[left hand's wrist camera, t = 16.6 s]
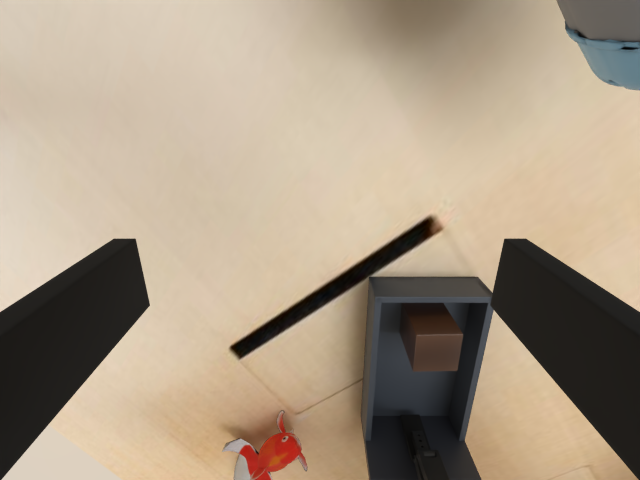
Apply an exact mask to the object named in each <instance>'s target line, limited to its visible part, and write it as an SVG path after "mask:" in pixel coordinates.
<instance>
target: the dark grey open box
mask: <svg viewBox="0 0 640 480" xmlns="http://www.w3.org/2000/svg"><path fill="white" fill-rule="evenodd" d="M492 294H493V293H492V292H491V291H490V290H489V289H488V288H487V286H486V285H485V284H484V283H483V282H482V281H481V280H480V279H479V278H478V277H369V290H368V307H367V323H366V340H365V356H364V372H363V389H362V405H361V421H362V429H363V437H364V444H365V452H366V459H367V467H368V475H369V480H418V476H417V472H416V467H415V463H412V462H411V459H410V455H409V451H408V447H407V443H406V439H405V435H404V432H403V428H402V424H401V420H400V415H420V418H421V421H422V424H423V427H424V430H425V433H426V436H427V439H428V443H429V446H430V449H431V450H438V451H439V454H440V455H441V457H442V458H441V459H442V461H443V464H444V466H445V469H446V471H447V474H448V476H449V478H450V480H481V478H480V475H479V473H478V471H477V468H476V466H475V464H474V462H473V459H472V457H471V455H470V452H469V450H468V448H467V445H466V443H465V436H466V432H467V427H468V423H469V418H470V414H471V409H472V405H473V400H474V395H475V391H476V386H477V382H478V377H479V373H480V368H481V364H482V359H483V355H484V350H485V346H486V341H487V337H488V332H489V328H490V323H491V319H492V314H493V310H494V309H493V308H492V307H491V306H490V304H491V299H492ZM402 303H444V305H445V306H446V308H447V309H448V311H449V313H450V314H451V316H452V317H453V319H454V321H455V322H456V324H457V325H458V327H459V328H460V330H461V332H462V333H463V338H462V345H461V351H460V357H459V363H458V370H457V371H421V372H413V370H412V367H411V364H410V362H409V359H408V356H407V353H406V350H405V347H404V344H403V342H402V339H401V336H400V319H401V306H402Z"/></svg>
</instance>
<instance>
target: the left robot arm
mask: <svg viewBox="0 0 640 480" xmlns="http://www.w3.org/2000/svg"><path fill="white" fill-rule="evenodd" d="M557 2H558V5H559V7H560V9H561V12H562V14H563V16H564V19H565V29H566V32H567V34H568V35H569V37H570V38H572V39H573V40H574V41H575V42H577V43H578V45H579V47H580V49H581V51H582V53H583V54H584V56H585V58H586V60H587V62H588V64H589V66H590V68H591V69H592V71H593V72H594V74H595V75H596V76H597V77H598V78H599V79H601V80H602V81H604V82H606V83H608V84H611V85H615V86H620V87H625V88H626V89H630V90H640V0H557ZM149 306H150V304H149V299H148V294H147V290H146V285H145V280H144V276H143V271H142V266H141V262H140V257H139V252H138V248H137V243H136V239H113V240H111V241H110V242H108V243H107V244H105V245H104V246H102V247H101V248H99V249H97V250H96V251H94V252H93V253H91V254H90V255H88V256H87V257H85V258H83V259H82V260H80V261H79V262H77V263H76V264H74V265H73V266H71V267H70V268H68V269H66V270H65V271H63V272H62V273H60V274H59V275H57V276H56V277H54V278H53V279H51V280H49V281H48V282H46V283H45V284H43V285H42V286H40V287H39V288H37V289H35V290H34V291H32V292H31V293H29V294H28V295H26V296H25V297H23V298H22V299H20V300H18V301H17V302H15V303H14V304H12V305H11V306H9V307H8V308H6V309H5V310H3V311H1V312H0V480H1V479H2V478H3V477H4V476H5V475H6V473H7V472H8V471H9V470H10V469H11V468H12V466H13V465H14V464H15V463H16V462H17V460H18V459H19V458H20V457H21V456H22V455H23V454H24V452H25V451H26V450H27V449H28V448H29V446H30V445H31V444H32V443H33V442H34V441H35V439H36V438H37V437H38V436H39V435H40V434H41V432H42V431H43V430H44V429H45V428H46V427H47V425H48V424H49V423H50V422H51V421H52V420H53V418H54V417H55V416H56V415H57V414H58V412H59V411H60V410H61V409H62V408H63V407H64V405H65V404H66V403H67V402H68V401H69V400H70V398H71V397H72V396H73V395H74V394H75V393H76V391H77V390H78V389H79V388H80V387H81V386H82V384H83V383H84V382H85V381H86V380H87V378H88V377H89V376H90V375H91V374H92V373H93V371H94V370H95V369H96V368H97V367H98V366H99V364H100V363H101V362H102V361H103V360H104V359H105V357H106V356H107V355H108V354H109V353H110V351H111V350H112V349H113V348H114V347H115V346H116V344H117V343H118V342H119V341H120V340H121V339H122V337H123V336H124V335H125V334H126V333H127V332H128V330H129V329H130V328H131V327H132V326H133V325H134V323H135V322H136V321H137V320H138V319H139V317H140V316H141V315H142V314H143V313H144V312H145V310H146V309H147V308H148V307H149ZM490 306H491V307H492V308H493V309H494V310H495V312H496V313H497V314H498V315H499V316H500V317H501V319H502V320H503V321H504V322H505V323H506V325H507V326H508V327H509V328H510V329H511V330H512V332H513V333H514V334H515V335H516V336H517V337H518V339H519V340H520V341H521V342H522V343H523V344H524V346H525V347H526V348H527V349H528V350H529V351H530V353H531V354H532V355H533V356H534V357H535V359H536V360H537V361H538V362H539V363H540V364H541V366H542V367H543V368H544V369H545V370H546V371H547V373H548V374H549V375H550V376H551V377H552V378H553V380H554V381H555V382H556V383H557V384H558V386H559V387H560V388H561V389H562V390H563V391H564V393H565V394H566V395H567V396H568V397H569V398H570V400H571V401H572V402H573V403H574V404H575V405H576V407H577V408H578V409H579V410H580V411H581V412H582V414H583V415H584V416H585V417H586V418H587V420H588V421H589V422H590V423H591V424H592V425H593V427H594V428H595V429H596V430H597V431H598V432H599V434H600V435H601V436H602V437H603V438H604V439H605V441H606V442H607V443H608V444H609V445H610V447H611V448H612V449H613V450H614V451H615V452H616V454H617V455H618V456H619V457H620V458H621V459H622V461H623V462H624V463H625V464H626V465H627V466H628V468H629V469H630V470H631V471H632V472H633V473H634V475H635V476H636V477H637V478H638V479H639V480H640V312H639V311H637V310H635V309H634V308H632V307H631V306H629V305H628V304H626V303H625V302H623V301H622V300H620V299H618V298H617V297H615V296H614V295H612V294H611V293H609V292H608V291H606V290H605V289H603V288H601V287H600V286H598V285H597V284H595V283H594V282H592V281H591V280H589V279H587V278H586V277H584V276H583V275H581V274H580V273H578V272H577V271H575V270H574V269H572V268H570V267H569V266H567V265H566V264H564V263H563V262H561V261H560V260H558V259H557V258H555V257H553V256H552V255H550V254H549V253H547V252H546V251H544V250H543V249H541V248H539V247H538V246H536V245H535V244H533V243H532V242H530V241H529V240H527V239H504V243H503V248H502V252H501V257H500V262H499V266H498V271H497V276H496V280H495V285H494V290H493V294H492V299H491V304H490Z"/></svg>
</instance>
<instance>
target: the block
mask: <svg viewBox="0 0 640 480" xmlns="http://www.w3.org/2000/svg"><path fill="white" fill-rule="evenodd" d="M400 336H401V339H402V342H403V344H404V347H405V350H406V353H407V356H408V359H409V362H410V364H411V367H412V370H413V372H421V371H457V370H458V363H459V357H460V351H461V345H462V338H463V333H462V332H461V330H460V328H459V327H458V325H457V324H456V322H455V321H454V319H453V317H452V316H451V314H450V313H449V311H448V309H447V308H446V306H445V305H444V303H402V306H401V319H400Z"/></svg>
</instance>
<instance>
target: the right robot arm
mask: <svg viewBox="0 0 640 480" xmlns="http://www.w3.org/2000/svg"><path fill="white" fill-rule="evenodd" d="M400 420H401V424H402V428H403V432H404V435H405V439H406V443H407V447H408V451H409V455H410V459H411V462H412V463H415V467H416V472H417V476H418V480H450V478H449V476H448V474H447V471H446V469H445V466H444V464H443V461H442V459H441V458H442V457H441V455H440V454H439V451H438V450H431V449H430V446H429V443H428V439H427V436H426V433H425V430H424V427H423V424H422V421H421V418H420V415H400Z"/></svg>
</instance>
